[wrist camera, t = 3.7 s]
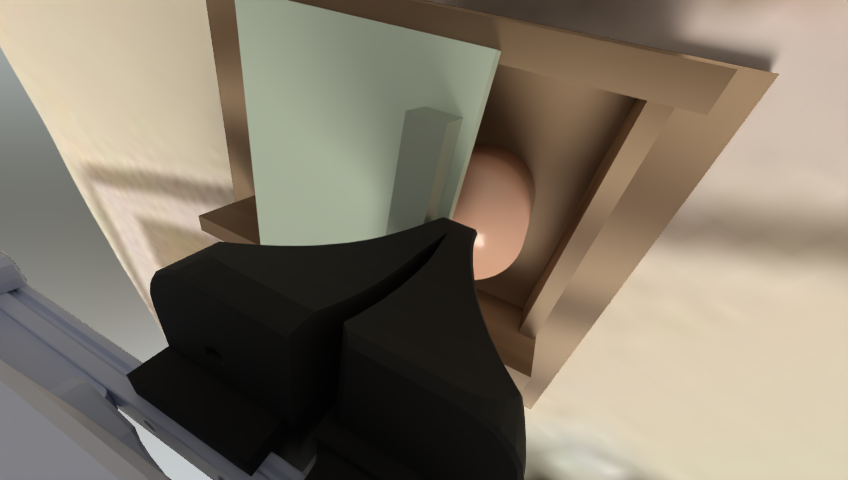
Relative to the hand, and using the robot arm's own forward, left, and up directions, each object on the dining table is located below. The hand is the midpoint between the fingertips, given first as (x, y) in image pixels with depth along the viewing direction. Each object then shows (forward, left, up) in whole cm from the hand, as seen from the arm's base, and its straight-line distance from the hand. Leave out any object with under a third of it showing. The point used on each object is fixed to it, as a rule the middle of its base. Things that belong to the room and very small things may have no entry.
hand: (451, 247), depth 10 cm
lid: (0, +5, -1) cm, 5 cm away
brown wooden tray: (-3, +5, -6) cm, 9 cm away
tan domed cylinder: (0, 0, -6) cm, 6 cm away
